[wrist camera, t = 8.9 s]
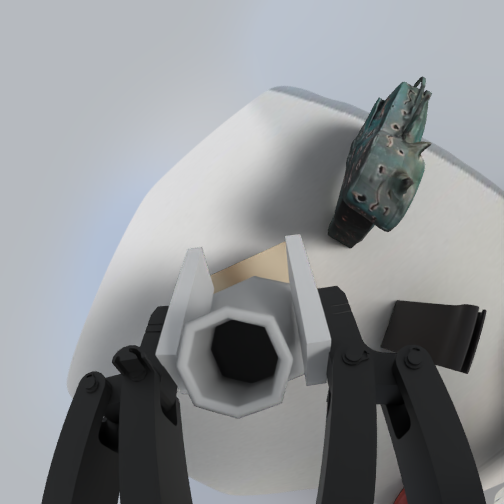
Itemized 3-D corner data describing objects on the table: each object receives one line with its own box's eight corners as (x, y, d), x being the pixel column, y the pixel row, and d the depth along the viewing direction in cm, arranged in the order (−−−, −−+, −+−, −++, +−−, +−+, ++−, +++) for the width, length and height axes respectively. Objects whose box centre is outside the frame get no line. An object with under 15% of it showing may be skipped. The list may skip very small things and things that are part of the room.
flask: (311, 269, 17) (350, 216, 7) (323, 382, 15) (369, 459, 6) (198, 282, 18) (109, 247, 8) (209, 391, 16) (136, 463, 6)
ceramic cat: (352, 265, 31) (442, 204, 12) (305, 238, 32) (339, 142, 13) (402, 148, 34) (461, 51, 14) (364, 126, 35) (404, 19, 16)
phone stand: (379, 346, 29) (428, 362, 17) (396, 299, 30) (450, 292, 18) (433, 364, 27) (489, 380, 16) (447, 321, 28) (507, 320, 17)
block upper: (290, 250, 28) (293, 237, 23) (328, 332, 26) (339, 336, 21) (208, 287, 28) (194, 282, 23) (244, 369, 25) (237, 381, 21)
